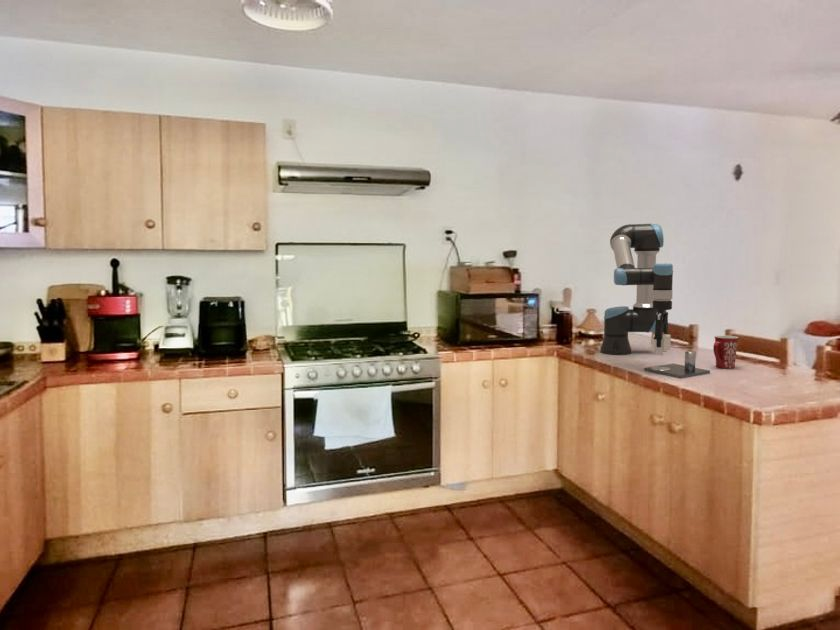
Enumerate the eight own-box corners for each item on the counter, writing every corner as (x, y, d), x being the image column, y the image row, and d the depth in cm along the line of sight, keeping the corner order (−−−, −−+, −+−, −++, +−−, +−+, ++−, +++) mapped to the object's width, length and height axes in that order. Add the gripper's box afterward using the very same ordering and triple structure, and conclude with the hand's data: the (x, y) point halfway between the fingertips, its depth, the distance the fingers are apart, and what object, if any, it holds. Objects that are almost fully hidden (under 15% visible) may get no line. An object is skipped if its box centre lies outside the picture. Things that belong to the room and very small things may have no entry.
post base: (644, 370, 240) (644, 350, 239) (673, 366, 248) (674, 346, 247) (680, 378, 224) (680, 356, 223) (710, 373, 232) (710, 352, 231)
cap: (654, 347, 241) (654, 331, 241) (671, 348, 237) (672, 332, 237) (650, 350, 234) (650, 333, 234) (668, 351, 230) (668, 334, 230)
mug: (721, 364, 250) (722, 334, 248) (741, 367, 242) (742, 336, 240) (703, 367, 244) (704, 337, 242) (723, 371, 236) (724, 339, 234)
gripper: (657, 298, 245) (656, 348, 247) (647, 301, 227) (646, 356, 229) (676, 298, 241) (675, 350, 243) (667, 302, 223) (665, 357, 225)
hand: (661, 353), depth 236 cm, fingers closed on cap, 9 cm apart
